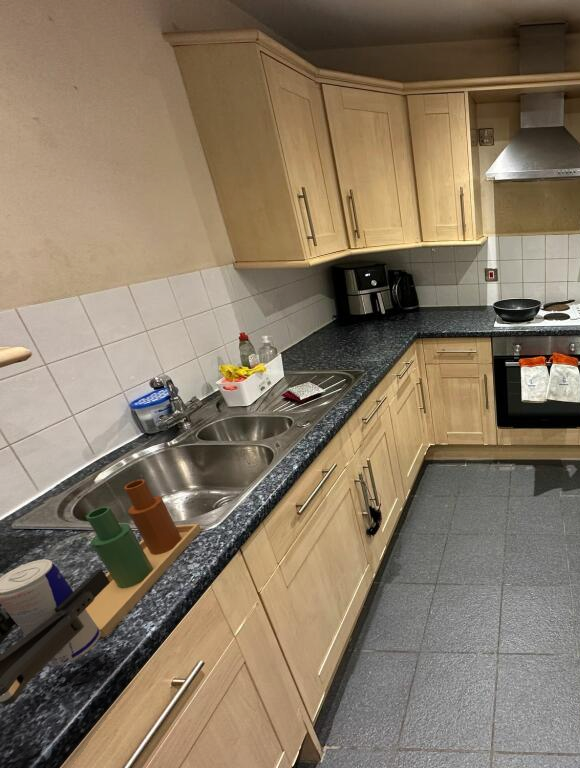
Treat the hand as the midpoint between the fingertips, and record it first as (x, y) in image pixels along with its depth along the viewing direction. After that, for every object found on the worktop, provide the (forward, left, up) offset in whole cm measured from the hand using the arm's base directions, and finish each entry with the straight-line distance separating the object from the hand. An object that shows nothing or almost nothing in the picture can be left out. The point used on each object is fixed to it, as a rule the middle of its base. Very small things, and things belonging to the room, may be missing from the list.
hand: (81, 578), depth 61 cm
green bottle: (-7, +12, -13) cm, 19 cm away
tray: (-7, +12, -13) cm, 19 cm away
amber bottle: (-7, +20, -13) cm, 25 cm away
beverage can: (0, -5, -9) cm, 10 cm away
